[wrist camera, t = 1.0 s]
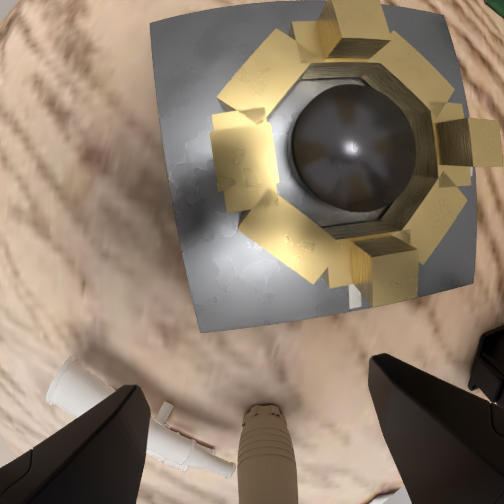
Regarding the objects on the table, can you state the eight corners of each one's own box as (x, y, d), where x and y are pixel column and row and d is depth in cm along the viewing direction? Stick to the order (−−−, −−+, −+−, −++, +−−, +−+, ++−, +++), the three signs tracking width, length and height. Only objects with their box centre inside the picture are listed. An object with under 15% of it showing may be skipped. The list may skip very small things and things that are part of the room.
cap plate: (437, 19, 15) (465, 1, 11) (466, 279, 20) (496, 298, 16) (153, 29, 15) (134, 2, 12) (202, 325, 21) (193, 358, 17)
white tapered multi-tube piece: (222, 429, 26) (198, 476, 23) (86, 352, 24) (59, 401, 21) (257, 444, 19) (226, 505, 16) (74, 343, 17) (37, 409, 14)
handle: (245, 381, 22) (242, 575, 7) (313, 410, 23) (350, 576, 8) (214, 418, 23) (195, 585, 8) (279, 442, 24) (294, 594, 9)
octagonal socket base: (421, 47, 14) (473, 16, 9) (444, 248, 18) (501, 277, 12) (207, 53, 15) (189, 4, 9) (242, 280, 18) (239, 331, 13)
